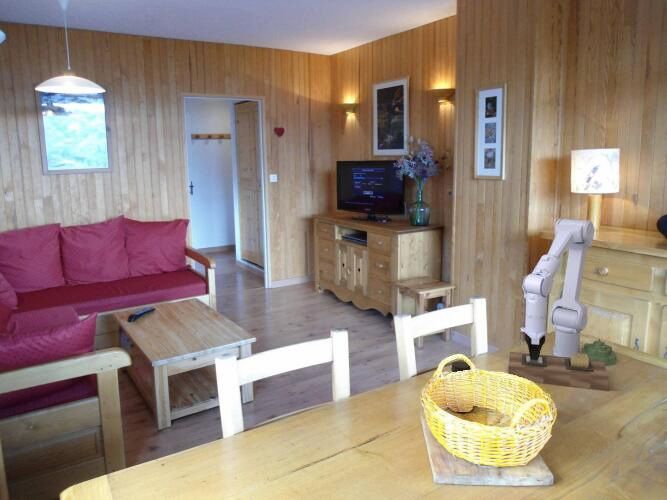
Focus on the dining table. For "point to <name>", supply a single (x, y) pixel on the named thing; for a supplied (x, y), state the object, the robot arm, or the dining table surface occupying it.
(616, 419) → the dining table surface
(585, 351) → the decorative artifact
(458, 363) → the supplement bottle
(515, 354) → the walnut board
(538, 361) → the steel peg
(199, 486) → the dining table surface
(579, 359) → the brass peg
